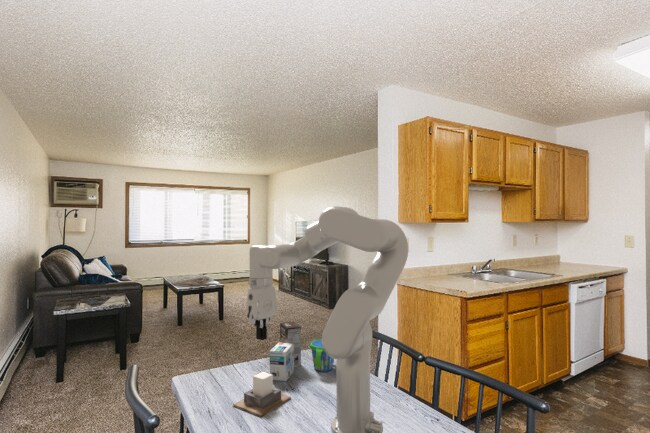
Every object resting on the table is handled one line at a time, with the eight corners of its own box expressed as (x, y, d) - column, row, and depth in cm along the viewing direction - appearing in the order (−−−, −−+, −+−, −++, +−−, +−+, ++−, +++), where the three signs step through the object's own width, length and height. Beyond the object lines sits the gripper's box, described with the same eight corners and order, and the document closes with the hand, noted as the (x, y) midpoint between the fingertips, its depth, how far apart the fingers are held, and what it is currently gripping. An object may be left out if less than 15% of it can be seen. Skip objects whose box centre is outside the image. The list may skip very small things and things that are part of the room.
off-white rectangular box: (272, 399, 118) (272, 374, 118) (263, 405, 114) (263, 379, 115) (262, 395, 120) (262, 371, 121) (253, 401, 117) (253, 376, 117)
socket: (290, 398, 120) (290, 388, 120) (261, 417, 108) (261, 405, 108) (264, 389, 126) (264, 379, 127) (233, 406, 115) (233, 395, 115)
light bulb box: (286, 381, 133) (286, 352, 133) (268, 380, 134) (268, 350, 135) (294, 370, 143) (294, 342, 144) (278, 369, 145) (278, 341, 145)
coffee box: (279, 360, 154) (279, 322, 154) (293, 358, 156) (293, 320, 157) (286, 368, 145) (286, 328, 146) (301, 365, 148) (301, 326, 148)
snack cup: (328, 378, 136) (328, 350, 136) (303, 374, 140) (303, 347, 140) (342, 363, 150) (342, 338, 151) (318, 360, 154) (318, 336, 154)
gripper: (253, 286, 111) (253, 347, 110) (284, 280, 123) (285, 335, 123) (236, 284, 115) (236, 343, 114) (268, 279, 127) (268, 331, 127)
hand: (261, 338), depth 119 cm, fingers closed
